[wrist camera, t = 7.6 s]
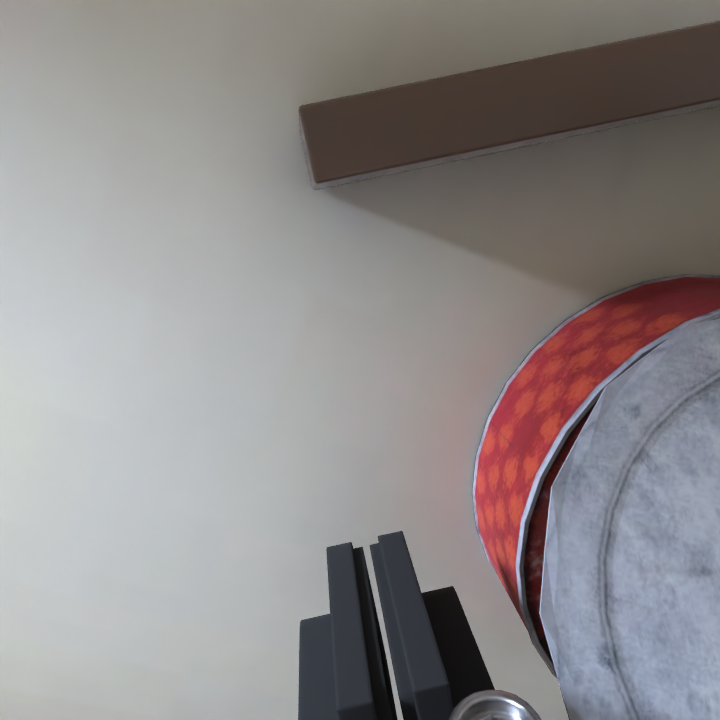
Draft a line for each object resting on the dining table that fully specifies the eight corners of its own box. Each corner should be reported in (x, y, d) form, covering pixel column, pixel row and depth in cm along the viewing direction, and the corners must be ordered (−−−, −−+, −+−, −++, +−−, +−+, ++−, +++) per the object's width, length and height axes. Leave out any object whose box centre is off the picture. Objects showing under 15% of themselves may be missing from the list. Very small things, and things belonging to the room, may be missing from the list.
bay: (298, 129, 11) (297, 105, 9) (1005, -16, 12) (1190, -76, 9) (443, 797, 16) (469, 901, 14) (931, 671, 17) (1037, 749, 14)
